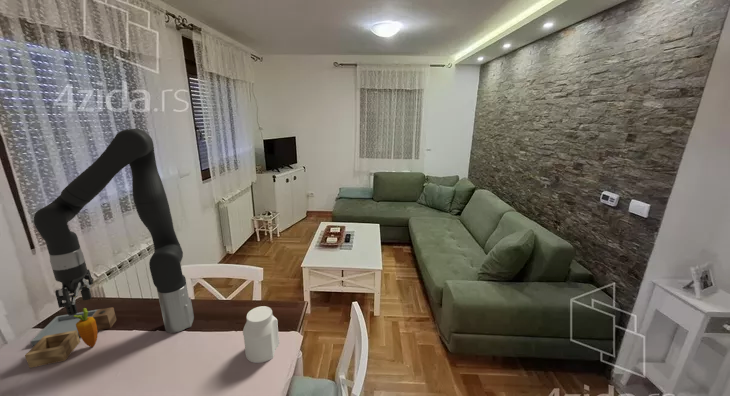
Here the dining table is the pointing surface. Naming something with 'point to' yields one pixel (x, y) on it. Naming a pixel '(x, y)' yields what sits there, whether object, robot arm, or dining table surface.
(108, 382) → the dining table surface
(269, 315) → the jar
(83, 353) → the dining table surface
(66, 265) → the robot arm
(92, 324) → the carrot
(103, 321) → the walnut block
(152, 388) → the dining table surface
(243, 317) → the dining table surface
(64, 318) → the tray
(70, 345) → the wooden crate
